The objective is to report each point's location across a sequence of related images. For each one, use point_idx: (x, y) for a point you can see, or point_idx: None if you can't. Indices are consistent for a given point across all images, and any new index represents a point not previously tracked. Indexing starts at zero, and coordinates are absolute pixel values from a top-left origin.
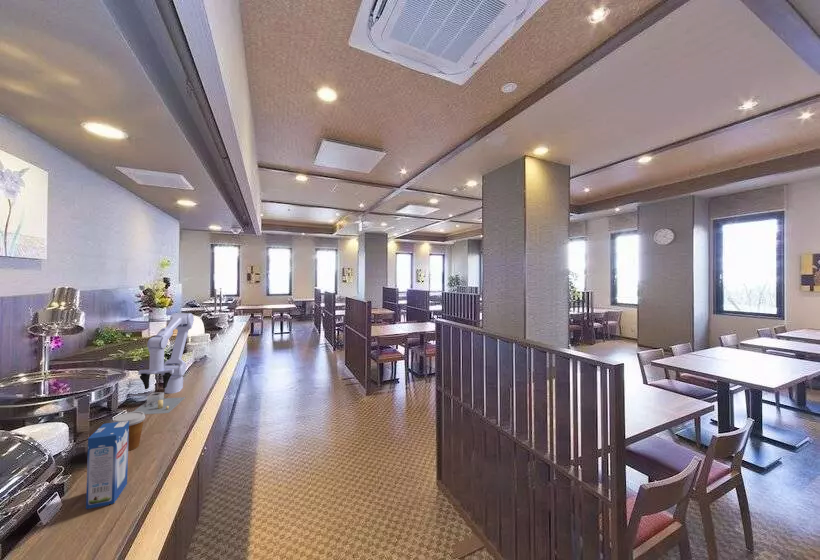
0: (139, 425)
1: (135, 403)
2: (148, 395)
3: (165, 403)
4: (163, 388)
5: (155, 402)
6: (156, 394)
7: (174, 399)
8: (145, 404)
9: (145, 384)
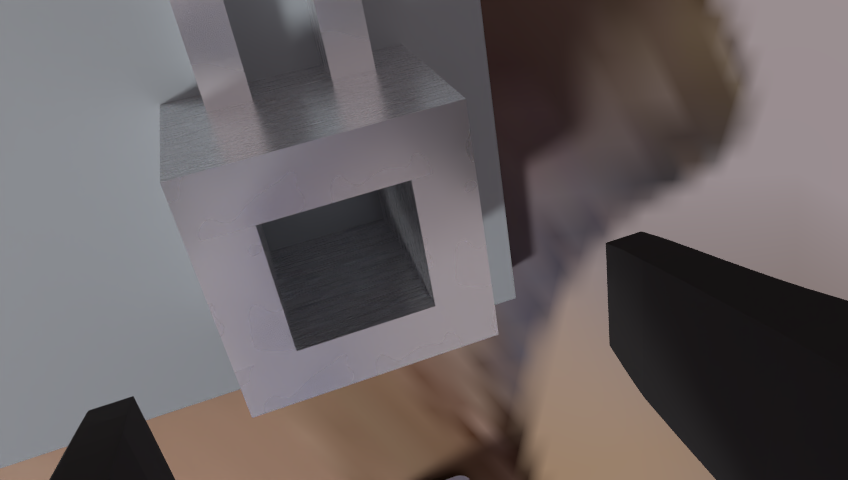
0: None
1: (665, 170)
2: (471, 166)
3: (22, 143)
4: (123, 401)
5: (195, 49)
6: (371, 307)
7: (29, 368)
8: (429, 45)
9: (741, 298)
